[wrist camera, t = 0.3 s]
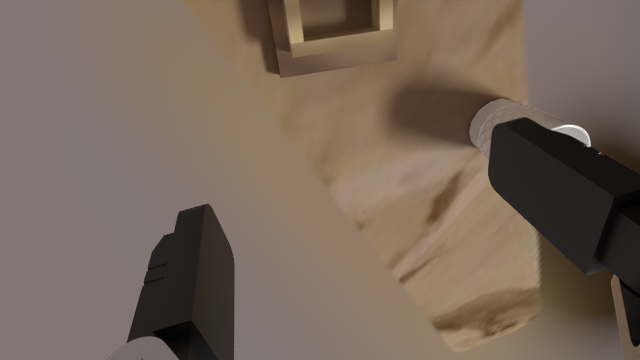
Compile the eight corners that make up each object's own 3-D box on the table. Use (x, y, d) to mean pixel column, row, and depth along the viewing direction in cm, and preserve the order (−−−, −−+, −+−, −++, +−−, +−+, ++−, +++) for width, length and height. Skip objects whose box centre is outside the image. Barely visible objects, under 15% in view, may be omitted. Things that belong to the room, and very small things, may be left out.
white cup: (451, 133, 43) (500, 173, 35) (500, 79, 41) (566, 109, 32) (488, 163, 47) (541, 206, 38) (536, 115, 44) (604, 151, 36)
